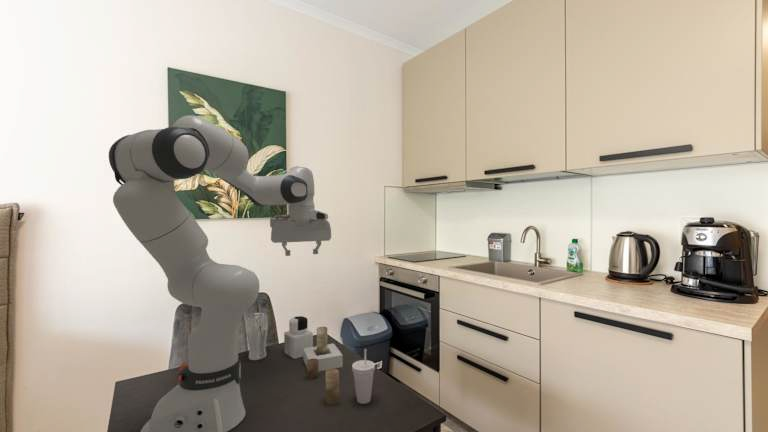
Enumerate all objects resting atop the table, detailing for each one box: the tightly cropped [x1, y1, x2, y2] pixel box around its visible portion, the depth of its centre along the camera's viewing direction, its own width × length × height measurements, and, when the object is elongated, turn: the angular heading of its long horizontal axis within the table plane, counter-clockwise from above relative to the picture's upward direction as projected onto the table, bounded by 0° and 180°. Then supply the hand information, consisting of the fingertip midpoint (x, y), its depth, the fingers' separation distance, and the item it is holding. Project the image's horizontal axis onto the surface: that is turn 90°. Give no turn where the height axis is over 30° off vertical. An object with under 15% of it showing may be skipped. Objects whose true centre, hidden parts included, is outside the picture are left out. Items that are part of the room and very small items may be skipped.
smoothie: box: [351, 348, 376, 405], centre depth 92 cm, size 6×6×14 cm
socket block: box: [302, 343, 344, 373], centre depth 114 cm, size 11×11×4 cm
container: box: [283, 315, 314, 360], centre depth 123 cm, size 8×8×13 cm
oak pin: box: [325, 368, 340, 406], centre depth 91 cm, size 4×4×8 cm
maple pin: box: [316, 326, 328, 356], centre depth 114 cm, size 4×4×12 cm
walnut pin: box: [306, 358, 320, 380], centre depth 105 cm, size 4×4×5 cm
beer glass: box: [246, 312, 269, 361], centre depth 120 cm, size 7×7×15 cm
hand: (301, 254), depth 115 cm, fingers open, 8 cm apart
